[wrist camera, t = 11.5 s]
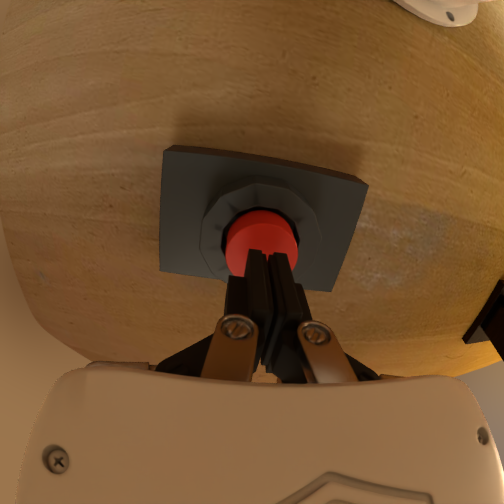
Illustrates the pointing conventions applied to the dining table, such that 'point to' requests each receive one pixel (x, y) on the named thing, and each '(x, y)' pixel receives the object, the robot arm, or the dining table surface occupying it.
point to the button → (259, 239)
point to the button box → (251, 199)
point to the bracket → (490, 322)
